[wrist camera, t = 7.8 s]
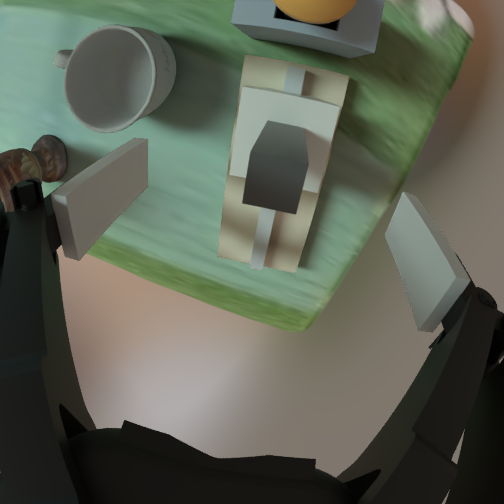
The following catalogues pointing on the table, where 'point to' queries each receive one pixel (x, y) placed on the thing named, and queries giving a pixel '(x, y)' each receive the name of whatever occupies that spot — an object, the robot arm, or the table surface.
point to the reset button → (315, 10)
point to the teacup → (116, 76)
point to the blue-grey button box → (313, 27)
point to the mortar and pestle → (31, 166)
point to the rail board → (234, 212)
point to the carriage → (281, 146)
